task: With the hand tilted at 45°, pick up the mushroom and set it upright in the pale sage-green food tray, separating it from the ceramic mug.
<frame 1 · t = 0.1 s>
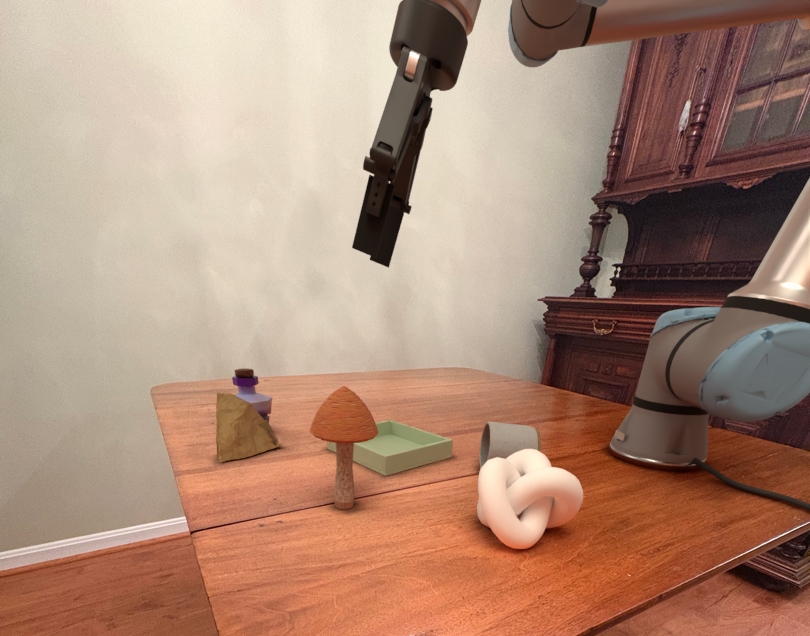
hand: (372, 259, 53), 28 cm above the table, tool tilted 20°, fingers open, 13 cm apart
food tray: (388, 453, 74), on the table
mushroom: (348, 508, 55), on the table
white knot sculpture: (512, 530, 51), on the table
rock: (250, 454, 72), on the table
potion bottle: (254, 436, 82), on the table
ceramic mug: (501, 469, 69), on the table
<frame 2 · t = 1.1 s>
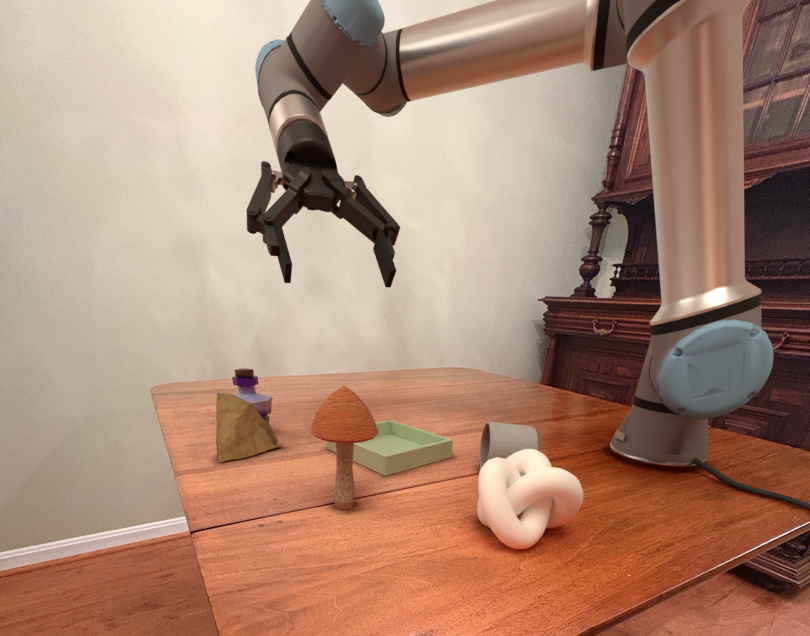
hand: (342, 276, 54), 26 cm above the table, tool tilted 45°, fingers open, 13 cm apart
nothing on the table moved.
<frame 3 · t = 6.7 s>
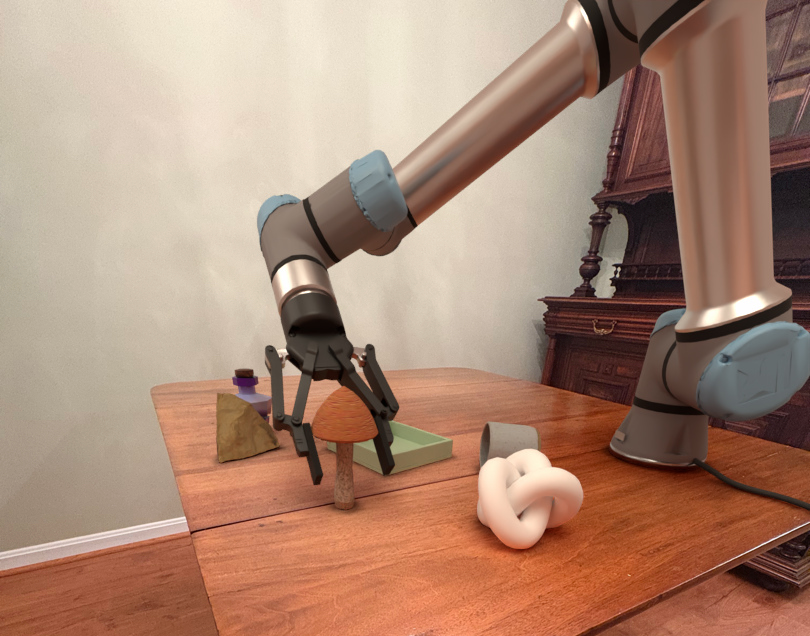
hand: (355, 475, 49), 6 cm above the table, tool tilted 45°, fingers closed on mushroom, 8 cm apart
mushroom: (348, 508, 55), on the table, touching gripper
everything else where it was.
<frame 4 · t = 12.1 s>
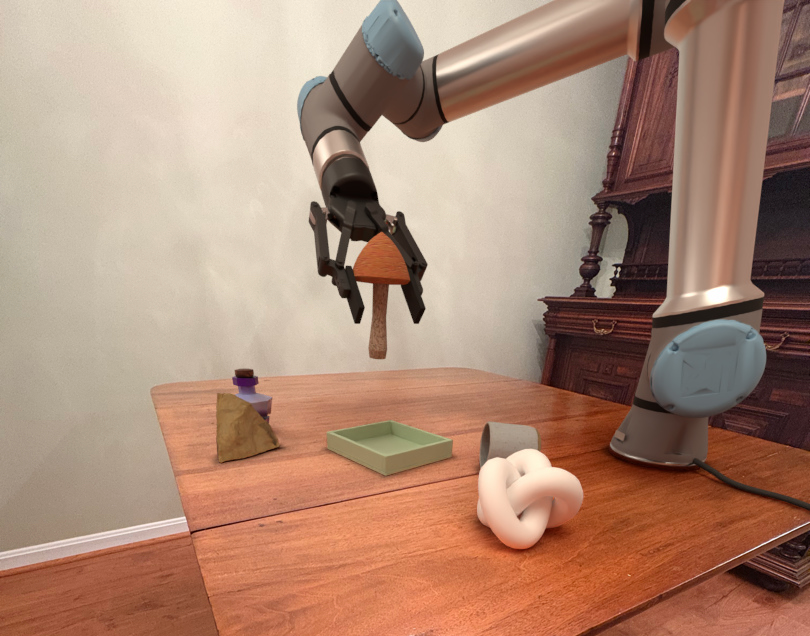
hand: (390, 315, 56), 22 cm above the table, tool tilted 45°, fingers closed on mushroom, 8 cm apart
mushroom: (381, 360, 61), point 16 cm above the table, touching gripper
everything else where it was.
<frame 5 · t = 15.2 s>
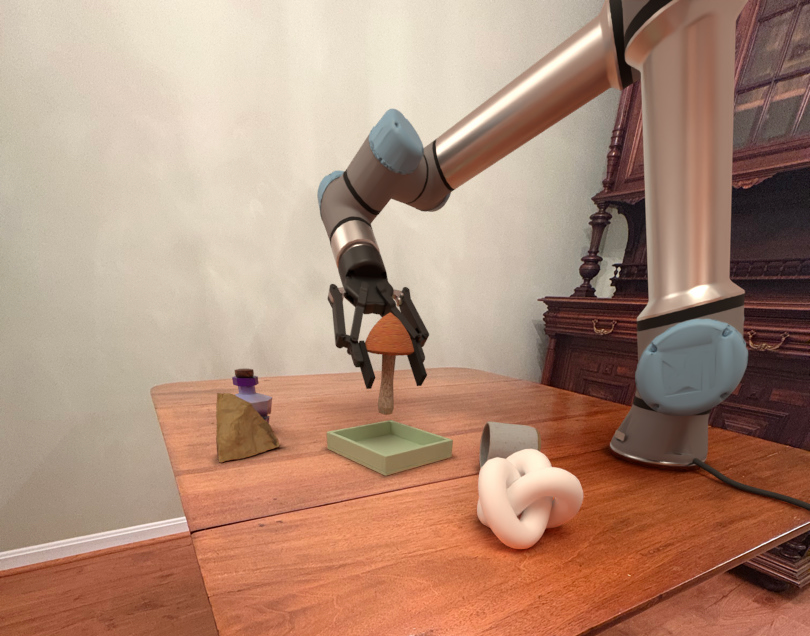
hand: (397, 381, 65), 12 cm above the table, tool tilted 45°, fingers closed on mushroom, 8 cm apart
mushroom: (388, 415, 71), point 7 cm above the table, touching gripper
everything else where it was.
when the fingers open (6 cm above the table, at t = 17.4 s): mushroom stays where it is, resting on food tray.
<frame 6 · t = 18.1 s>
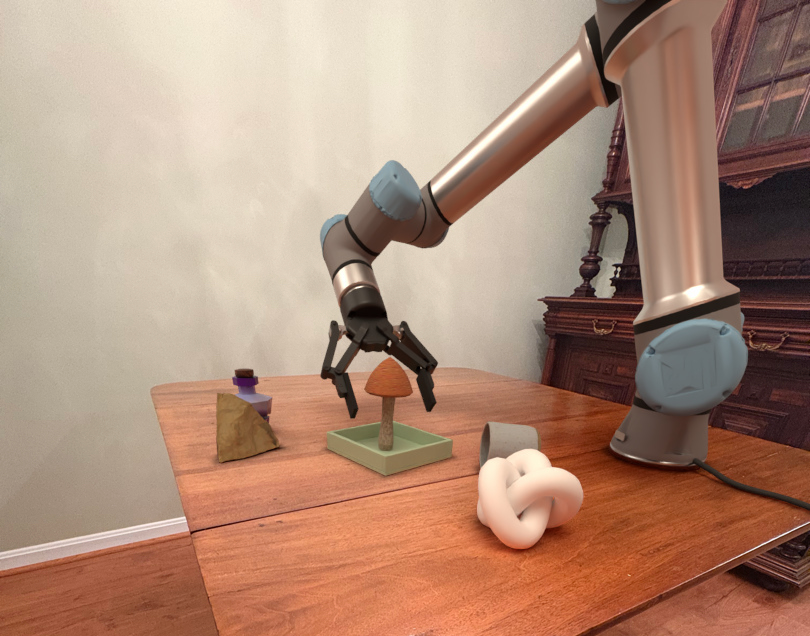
hand: (394, 410, 69), 8 cm above the table, tool tilted 45°, fingers open, 13 cm apart
mushroom: (388, 450, 74), resting on food tray
everything else where it was.
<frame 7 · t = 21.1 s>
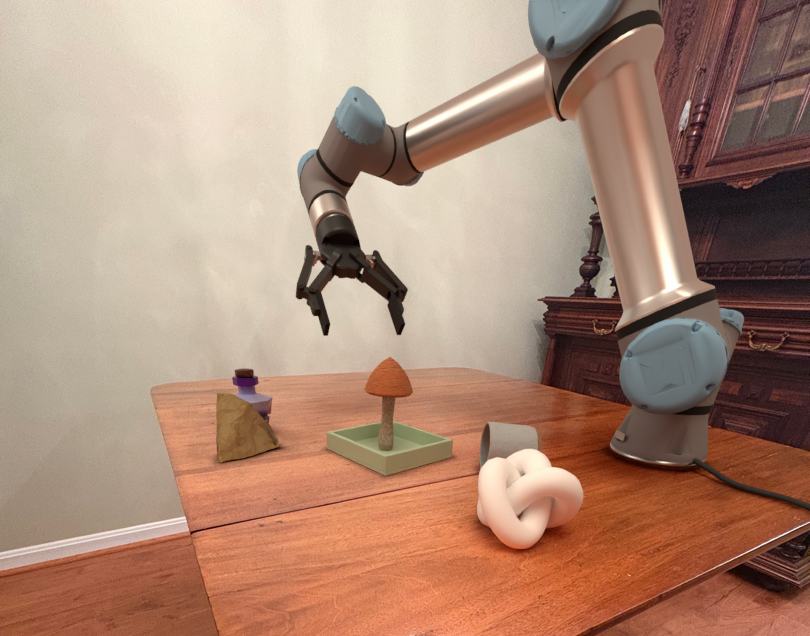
hand: (365, 330, 73), 19 cm above the table, tool tilted 45°, fingers open, 13 cm apart
nothing on the table moved.
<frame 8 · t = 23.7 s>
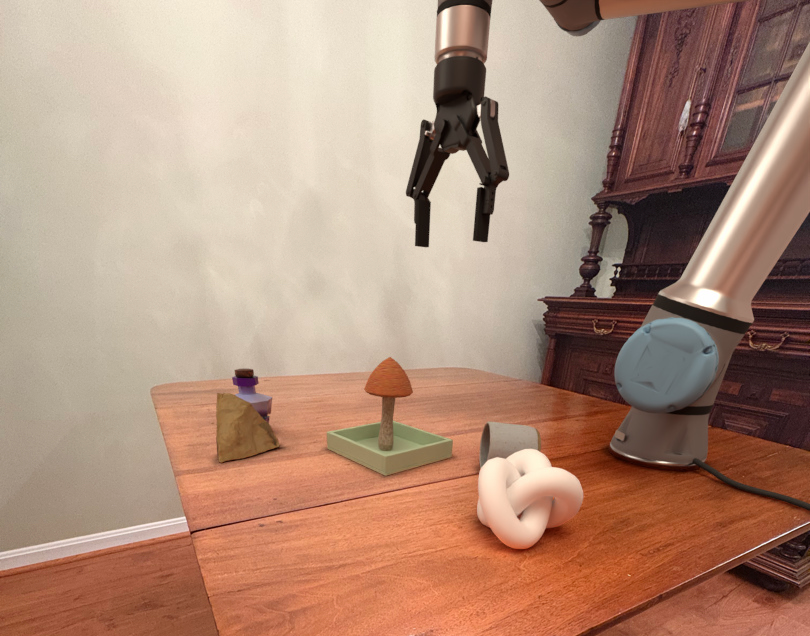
hand: (449, 244, 72), 32 cm above the table, tool pointing down, fingers open, 13 cm apart
nothing on the table moved.
at the end: mushroom inside the target area in the food tray (0.1 cm from its centre), point 0.4 cm above the food tray's base; mushroom tilted 0°; the gripper is holding nothing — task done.
